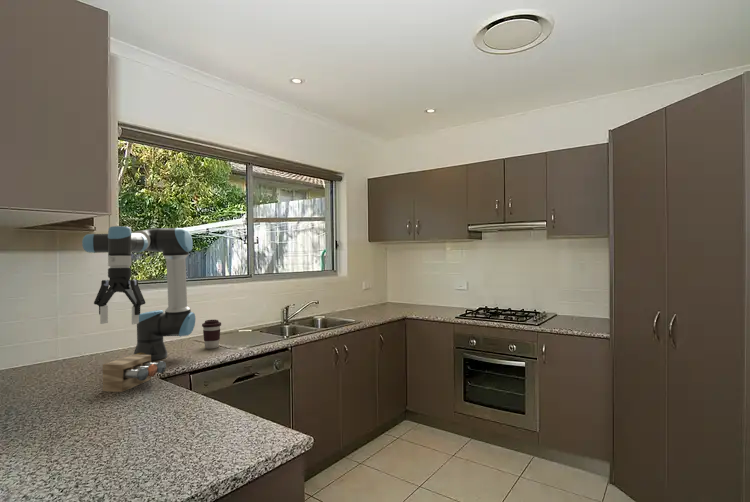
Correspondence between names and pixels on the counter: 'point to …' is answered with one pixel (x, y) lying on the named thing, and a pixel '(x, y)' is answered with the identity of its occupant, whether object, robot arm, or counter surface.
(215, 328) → the coffee cup
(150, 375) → the plug rust
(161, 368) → the plug
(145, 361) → the block
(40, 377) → the counter surface
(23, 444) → the counter surface
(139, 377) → the plug
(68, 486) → the counter surface
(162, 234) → the robot arm
